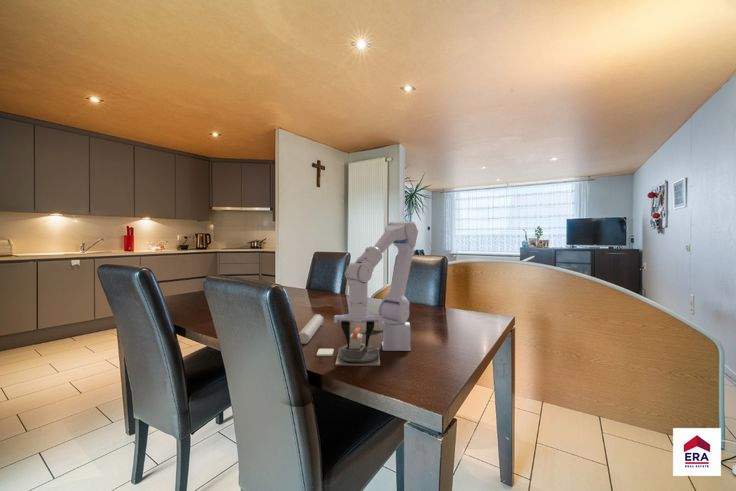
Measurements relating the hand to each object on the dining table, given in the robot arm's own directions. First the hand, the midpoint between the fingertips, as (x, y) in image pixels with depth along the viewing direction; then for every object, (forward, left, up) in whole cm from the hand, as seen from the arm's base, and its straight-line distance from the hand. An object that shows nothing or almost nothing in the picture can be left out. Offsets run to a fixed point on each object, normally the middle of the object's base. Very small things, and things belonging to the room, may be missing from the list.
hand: (357, 345), depth 97 cm
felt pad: (+11, -7, -5) cm, 14 cm away
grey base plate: (0, -4, -5) cm, 6 cm away
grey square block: (-6, -33, -6) cm, 34 cm away
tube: (+19, -27, -6) cm, 33 cm away
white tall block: (+1, 0, -3) cm, 3 cm away
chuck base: (0, -4, -5) cm, 6 cm away
